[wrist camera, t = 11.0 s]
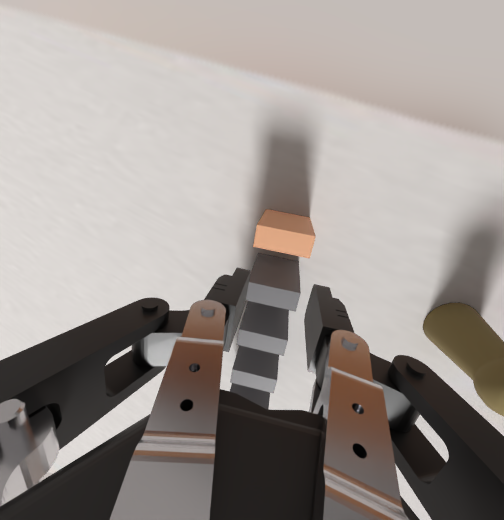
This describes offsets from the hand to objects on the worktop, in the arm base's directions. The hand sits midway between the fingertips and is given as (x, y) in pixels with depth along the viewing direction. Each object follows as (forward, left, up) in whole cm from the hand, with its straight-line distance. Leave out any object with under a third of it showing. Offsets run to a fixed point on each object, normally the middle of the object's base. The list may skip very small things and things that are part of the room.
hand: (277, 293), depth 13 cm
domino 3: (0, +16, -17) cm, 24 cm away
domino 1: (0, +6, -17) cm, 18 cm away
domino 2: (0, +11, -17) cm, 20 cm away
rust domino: (0, 0, -17) cm, 17 cm away
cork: (-22, +8, -17) cm, 29 cm away
